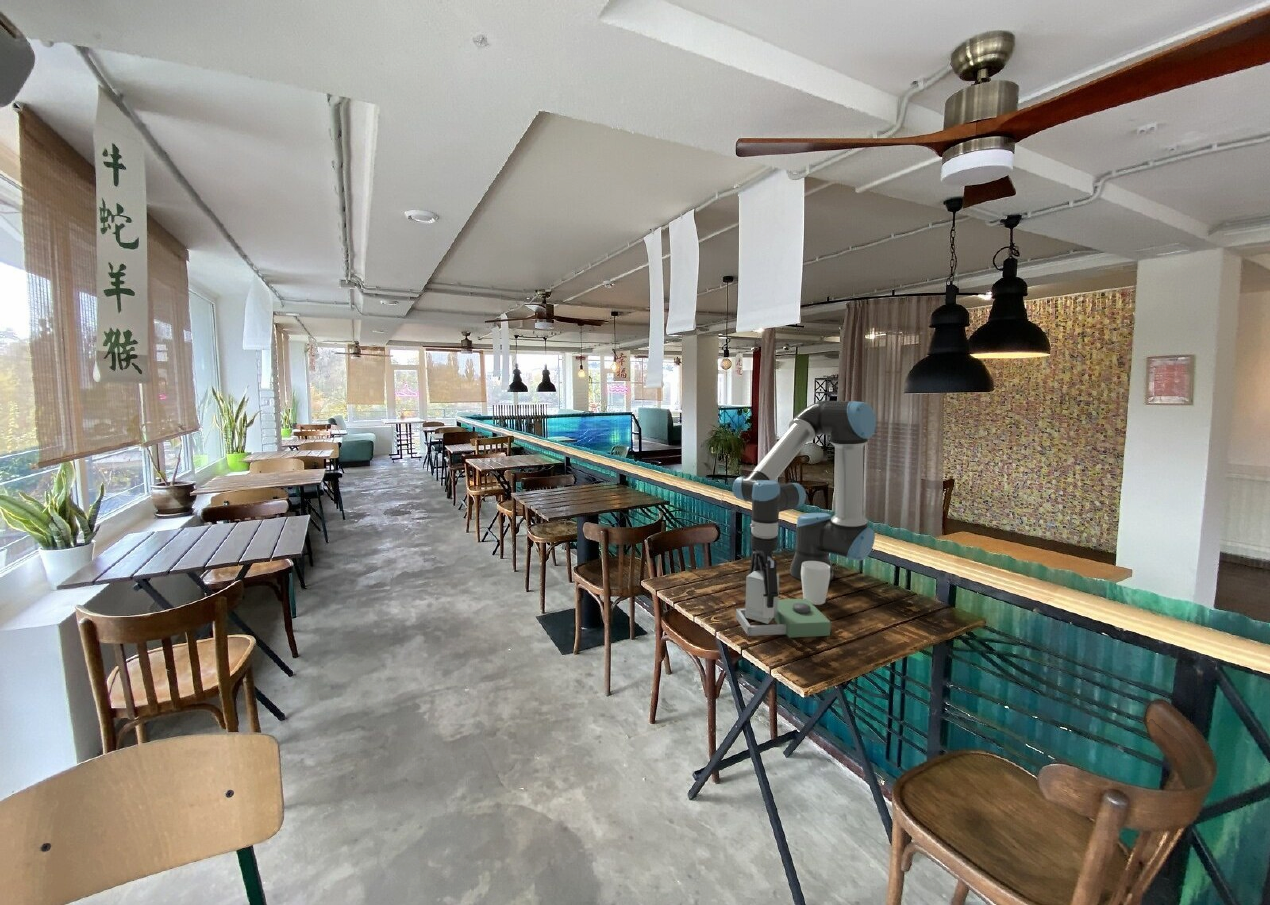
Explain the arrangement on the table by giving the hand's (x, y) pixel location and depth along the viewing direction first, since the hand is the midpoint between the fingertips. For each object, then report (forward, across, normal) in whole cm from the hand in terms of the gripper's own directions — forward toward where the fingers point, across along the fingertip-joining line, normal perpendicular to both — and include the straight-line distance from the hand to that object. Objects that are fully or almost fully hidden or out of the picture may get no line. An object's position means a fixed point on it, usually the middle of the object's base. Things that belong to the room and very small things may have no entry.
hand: (761, 609), depth 148 cm
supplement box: (+2, 0, 0) cm, 2 cm away
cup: (+5, -15, +23) cm, 28 cm away
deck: (+5, 0, +6) cm, 7 cm away
